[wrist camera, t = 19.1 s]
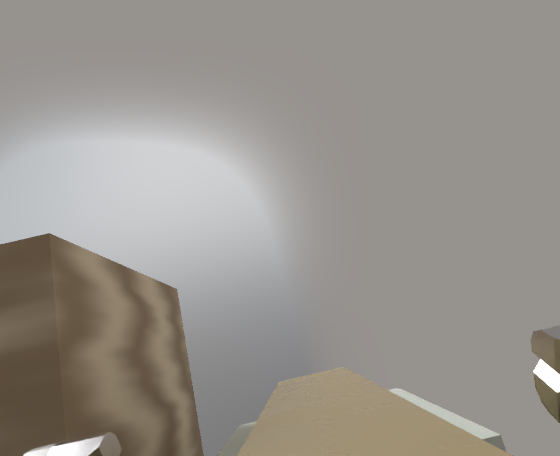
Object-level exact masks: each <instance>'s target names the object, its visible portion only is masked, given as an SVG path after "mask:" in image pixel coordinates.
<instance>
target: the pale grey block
mask: <svg viewBox="0 0 560 456" xmlns="http://www.w3.org/2000/svg"><path fill="white" fill-rule="evenodd" d="M389 391H390V392H392V393H394V394H396V395H398V396H400V397H402V398H404V399H406V400H408V401H410V402H411V403H413V404H415V405H417V406H419V407H421V408H423V409H425V410H427V411H429V412H430V413H432V414H434V415H436V416H438V417H440V418H442V419H444V420H446V421H448V422H450V423H451V424H453V425H455V426H457V427H459V428H461V429H463V430H465V431H467V432H469V433H471V434H472V435H474V436H476V437H478V438H480V439H482V440H484V441H486V442H488V443H490V444H492V445H493V446H495V447H497V448H499V449H501V450H503V451H505V452H506V450H505V447H504V444H503V441H502V438H501V435H500V434H498V433H495V432H493V431H491V430H489V429H487V428H485V427H482V426H480V425H478V424H476V423H473V422H471V421H469V420H467V419H465V418H463V417H460V416H458V415H456V414H454V413H452V412H450V411H447V410H445V409H443V408H441V407H439V406H437V405H434V404H432V403H430V402H427V401H426V400H423V399H421V398H419V397H417V396H415V395H412V394H410V393H408V392H406V391H404V390H402V389H399V388H396V389H391V390H389ZM255 423H256V422H252V423H248V424H244V425H240V426H239V427H238V428H237V430H236V431H235V432H234V434H233V435H232V436H231V438H230V439H229V440H228V442H227V443H226V444H225V445H224V447H223V448H222V449H221V451H220V452H219V453H218V455H217V456H237V455H238V453H239V451H240V450H241V448H242V446H243V444H244V443H245V441H246V439H247V437H248V436H249V434H250V432H251V430H252V428H253V427H254V425H255Z"/></svg>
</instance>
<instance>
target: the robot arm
mask: <svg viewBox="0 0 560 456" xmlns="http://www.w3.org/2000/svg"><path fill="white" fill-rule="evenodd" d="M531 345H532V352H533V353H534V354H535V355H536V356H537V357H538V358H539V359H540V361H539V363H538V365H537V367H536V369H535V370H534V380H535V387H536V390H537V392H538V395H539V397H540V399H541V402H542V403H543V405H544V406H545V408H546V409H547V410H548V412H549V413H550V414H551V415H552V416H553V417H554V418H555V419H556V420H557V421H558V422H559V423H560V325H557V326H553V327H549V328H545V329H541V330H537V331H534V332H533V335H532V338H531ZM121 450H122V448H121V446H120V444H119V441H118V439H117V437H116V435H115V434H113V433H111V432H106V433H102V434H97V435H92V436H88V437H83V438H78V439H74V440H69V441H65V442H60V443H58V444H51V445H47V446H43V447H39V448H34V449H32V450H30V451H28V452H26V453H25V454H24V455H23V456H119V455H120V453H121Z"/></svg>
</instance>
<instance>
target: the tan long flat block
mask: <svg viewBox="0 0 560 456" xmlns="http://www.w3.org/2000/svg"><path fill="white" fill-rule="evenodd" d="M237 456H512V455H511V454H509V453H507V452H505V451H503V450H501V449H499V448H497V447H495V446H493V445H492V444H490V443H488V442H486V441H484V440H482V439H480V438H478V437H476V436H474V435H472V434H471V433H469V432H467V431H465V430H463V429H461V428H459V427H457V426H455V425H453V424H451V423H450V422H448V421H446V420H444V419H442V418H440V417H438V416H436V415H434V414H432V413H430V412H429V411H427V410H425V409H423V408H421V407H419V406H417V405H415V404H413V403H411V402H410V401H408V400H406V399H404V398H402V397H400V396H398V395H396V394H394V393H392V392H390V391H389V390H387V389H385V388H383V387H381V386H379V385H377V384H375V383H373V382H371V381H369V380H368V379H366V378H364V377H362V376H360V375H358V374H356V373H354V372H352V371H350V370H348V369H347V368H345V367H340V368H336V369H332V370H328V371H323V372H319V373H315V374H311V375H307V376H302V377H298V378H294V379H290V380H285V381H281V382H279V383H278V384H277V386H276V388H275V390H274V391H273V393H272V395H271V397H270V398H269V400H268V402H267V404H266V406H265V407H264V409H263V411H262V413H261V415H260V416H259V418H258V420H257V421H256V423H255V425H254V427H253V428H252V430H251V432H250V434H249V436H248V437H247V439H246V441H245V443H244V444H243V446H242V448H241V450H240V451H239V453H238V455H237Z"/></svg>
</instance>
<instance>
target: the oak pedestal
mask: <svg viewBox="0 0 560 456" xmlns="http://www.w3.org/2000/svg"><path fill="white" fill-rule="evenodd" d="M106 432H111V433H113V434H115V435H116V437H117V439H118V441H119V444H120V446H121V448H122V450H121V453H120V455H119V456H204V455H203V450H202V443H201V436H200V430H199V424H198V418H197V412H196V405H195V399H194V392H193V386H192V380H191V374H190V368H189V361H188V356H187V349H186V343H185V336H184V330H183V323H182V317H181V311H180V305H179V299H178V292H177V289H175V288H173V287H171V286H169V285H166V284H164V283H162V282H159V281H157V280H155V279H152V278H150V277H148V276H146V275H144V274H141V273H139V272H137V271H134V270H132V269H130V268H127V267H125V266H123V265H121V264H118V263H116V262H114V261H111V260H109V259H107V258H105V257H102V256H100V255H98V254H95V253H93V252H91V251H89V250H86V249H84V248H81V247H79V246H77V245H75V244H73V243H70V242H68V241H66V240H63V239H61V238H58V237H56V236H54V235H52V234H50V233H49V234H45V235H40V236H36V237H31V238H27V239H23V240H18V241H14V242H10V243H5V244H1V245H0V456H23V455H24V454H25V453H26V452H28V451H30V450H32V449H34V448H39V447H43V446H47V445H51V444H58V443H60V442H65V441H69V440H74V439H78V438H83V437H88V436H92V435H97V434H102V433H106Z"/></svg>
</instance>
